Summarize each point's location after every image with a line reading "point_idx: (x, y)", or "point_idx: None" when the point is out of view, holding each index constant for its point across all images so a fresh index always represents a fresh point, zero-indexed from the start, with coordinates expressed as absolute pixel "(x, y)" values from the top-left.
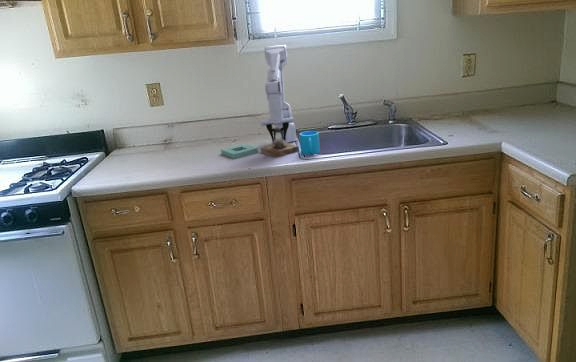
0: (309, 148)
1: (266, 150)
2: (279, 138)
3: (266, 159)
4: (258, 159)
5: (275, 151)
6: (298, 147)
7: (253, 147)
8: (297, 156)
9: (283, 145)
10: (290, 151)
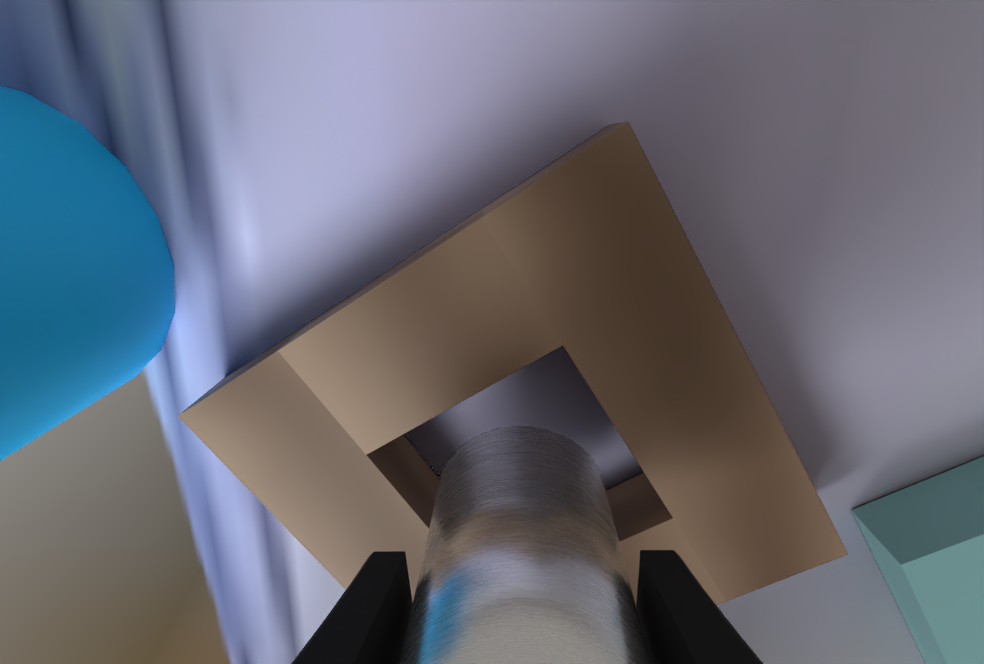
0: None
1: (771, 409)
2: (504, 568)
3: (820, 25)
4: (971, 89)
5: (624, 220)
6: (193, 403)
7: (954, 617)
8: (201, 22)
9: (443, 475)
10: (339, 306)
